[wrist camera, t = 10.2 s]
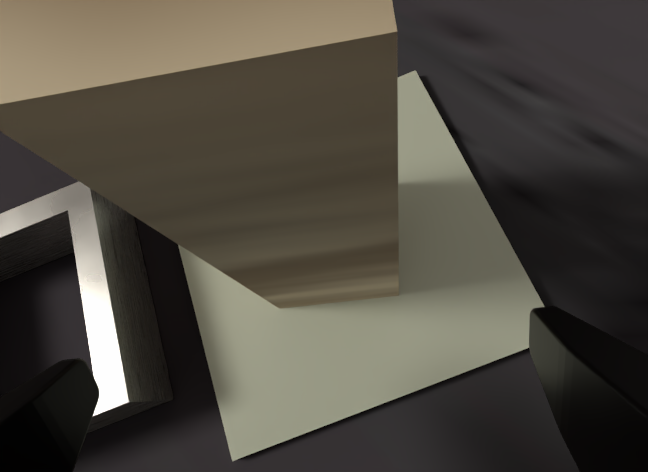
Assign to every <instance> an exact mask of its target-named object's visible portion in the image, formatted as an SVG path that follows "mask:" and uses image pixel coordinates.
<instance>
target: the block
mask: <svg viewBox="0 0 648 472" xmlns="http://www.w3.org/2000/svg"><path fill="white" fill-rule="evenodd" d="M0 131H1V132H2V133H4V134H5V135H7V136H9V137H10V138H12V139H13V140H15V141H16V142H18V143H20V144H21V145H23V146H24V147H26V148H27V149H29V150H31V151H32V152H34V153H35V154H37V155H38V156H40V157H42V158H43V159H45V160H46V161H48V162H49V163H51V164H53V165H54V166H56V167H57V168H59V169H61V170H62V171H64V172H65V173H67V174H68V175H70V176H72V177H73V178H75V179H76V180H78V181H79V182H81V183H83V184H84V185H86V186H87V187H89V188H90V189H92V190H94V191H95V192H97V193H98V194H100V195H101V196H103V197H105V198H106V199H108V200H109V201H111V202H112V203H114V204H116V205H117V206H119V207H120V208H122V209H123V210H125V211H127V212H128V213H130V214H131V215H133V216H134V217H136V218H138V219H139V220H141V221H142V222H144V223H145V224H147V225H149V226H150V227H152V228H153V229H155V230H156V231H158V232H160V233H161V234H163V235H164V236H166V237H167V238H169V239H171V240H172V241H174V242H175V243H177V244H178V245H180V246H182V247H183V248H185V249H186V250H188V251H189V252H191V253H193V254H194V255H196V256H197V257H199V258H200V259H202V260H204V261H205V262H207V263H208V264H210V265H211V266H213V267H215V268H216V269H218V270H219V271H221V272H222V273H224V274H226V275H227V276H229V277H230V278H232V279H234V280H235V281H237V282H238V283H240V284H241V285H243V286H245V287H246V288H248V289H249V290H251V291H252V292H254V293H256V294H257V295H259V296H260V297H262V298H263V299H265V300H267V301H268V302H270V303H271V304H273V305H274V306H276V307H278V308H279V309H281V308H290V307H299V306H308V305H317V304H326V303H335V302H344V301H353V300H362V299H371V298H381V297H390V296H399V239H398V79H397V27H396V21H395V16H394V10H393V4H392V0H0Z"/></svg>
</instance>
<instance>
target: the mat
mask: <svg viewBox="0 0 648 472" xmlns="http://www.w3.org/2000/svg"><path fill="white" fill-rule="evenodd" d="M397 79H398V239H399V296H390V297H381V298H371V299H362V300H353V301H344V302H335V303H326V304H317V305H308V306H299V307H290V308H281V309H279V308H278V307H276V306H274V305H273V304H271V303H270V302H268V301H267V300H265V299H263V298H262V297H260V296H259V295H257V294H256V293H254V292H252V291H251V290H249V289H248V288H246V287H245V286H243V285H241V284H240V283H238V282H237V281H235V280H234V279H232V278H230V277H229V276H227V275H226V274H224V273H222V272H221V271H219V270H218V269H216V268H215V267H213V266H211V265H210V264H208V263H207V262H205V261H204V260H202V259H200V258H199V257H197V256H196V255H194V254H193V253H191V252H189V251H188V250H186V249H185V248H183V247H182V246H180V245H178V247H179V251H180V255H181V259H182V263H183V267H184V271H185V275H186V279H187V282H188V286H189V290H190V294H191V298H192V302H193V306H194V310H195V314H196V318H197V322H198V326H199V330H200V334H201V338H202V342H203V346H204V350H205V354H206V358H207V362H208V366H209V370H210V374H211V378H212V382H213V386H214V390H215V394H216V398H217V402H218V406H219V410H220V414H221V418H222V422H223V426H224V430H225V434H226V438H227V442H228V446H229V450H230V454H231V458H232V461H234V460H237V459H239V458H242V457H245V456H247V455H250V454H252V453H255V452H258V451H260V450H263V449H265V448H268V447H271V446H273V445H276V444H279V443H281V442H284V441H286V440H289V439H292V438H294V437H297V436H299V435H302V434H305V433H307V432H310V431H313V430H315V429H318V428H320V427H323V426H326V425H328V424H331V423H333V422H336V421H339V420H341V419H344V418H347V417H349V416H352V415H354V414H357V413H360V412H362V411H365V410H367V409H370V408H373V407H375V406H378V405H380V404H383V403H386V402H388V401H391V400H394V399H396V398H399V397H401V396H404V395H407V394H409V393H412V392H414V391H417V390H420V389H422V388H425V387H428V386H430V385H433V384H435V383H438V382H441V381H443V380H446V379H448V378H451V377H454V376H456V375H459V374H461V373H464V372H467V371H469V370H472V369H475V368H477V367H480V366H482V365H485V364H488V363H490V362H493V361H495V360H498V359H501V358H503V357H506V356H509V355H511V354H514V353H516V352H519V351H522V350H524V349H527V348H529V320H530V312H531V310H532V309H533V308H539V307H545V306H544V305H543V303H542V301H541V299H540V297H539V295H538V294H537V292H536V290H535V288H534V286H533V284H532V283H531V281H530V279H529V277H528V275H527V274H526V272H525V270H524V268H523V266H522V264H521V263H520V261H519V259H518V257H517V255H516V253H515V252H514V250H513V248H512V246H511V244H510V242H509V241H508V239H507V237H506V235H505V233H504V231H503V230H502V228H501V226H500V224H499V222H498V220H497V219H496V217H495V215H494V213H493V211H492V209H491V208H490V206H489V204H488V202H487V200H486V199H485V197H484V195H483V193H482V191H481V189H480V188H479V186H478V184H477V182H476V180H475V178H474V177H473V175H472V173H471V171H470V169H469V167H468V166H467V164H466V162H465V160H464V158H463V156H462V155H461V153H460V151H459V149H458V147H457V145H456V144H455V142H454V140H453V138H452V136H451V134H450V133H449V131H448V129H447V127H446V125H445V124H444V122H443V120H442V118H441V116H440V114H439V113H438V111H437V109H436V107H435V105H434V103H433V102H432V100H431V98H430V96H429V94H428V92H427V91H426V89H425V87H424V85H423V83H422V81H421V80H420V78H419V76H418V74H417V72H416V70H415V71H413V72H410V73H408V74H405V75H403V76H400V77H398V78H397Z"/></svg>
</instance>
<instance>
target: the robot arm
mask: <svg viewBox="0 0 648 472" xmlns="http://www.w3.org/2000/svg"><path fill="white" fill-rule="evenodd" d="M529 349H530V354H531V357H532V360H533V362H534V365H535V368H536V370H537V373H538V376H539V378H540V381H541V383H542V386H543V389H544V391H545V394H546V397H547V399H548V402H549V405H550V407H551V410H552V412H553V415H554V418H555V420H556V423H557V425H558V428H559V430H560V433H561V435H562V437H563V439H564V441H565V443H566V445H567V447H568V449H569V451H570V453H571V455H572V457H573V459H574V461H575V462H576V464H577V466H578V468H579V470H580V472H648V355H647V354H645V353H643V352H642V351H640V350H638V349H636V348H634V347H632V346H630V345H628V344H626V343H624V342H622V341H621V340H619V339H617V338H615V337H613V336H611V335H609V334H607V333H605V332H603V331H602V330H600V329H598V328H596V327H594V326H592V325H590V324H588V323H586V322H584V321H583V320H581V319H579V318H577V317H575V316H573V315H571V314H569V313H567V312H565V311H563V310H562V309H560V308H558V307H555V306H548V307H539V308H533V309H532V310H531V312H530V320H529ZM98 400H99V387H98V385H97V383H96V381H95V379H94V377H93V375H92V373H91V371H90V369H89V367H88V365H87V363H86V362H85V361H84V360H83V359H80V358H77V359H67V360H62V361H60V362H58V363H56V364H54V365H53V366H51V367H50V368H48V369H46V370H45V371H43V372H41V373H40V374H38V375H37V376H35V377H33V378H32V379H30V380H28V381H27V382H25V383H23V384H22V385H20V386H19V387H17V388H15V389H14V390H12V391H10V392H9V393H7V394H6V395H4V396H2V397H1V398H0V472H73V470H74V467H75V464H76V462H77V459H78V456H79V454H80V451H81V448H82V445H83V442H84V440H85V437H86V434H87V431H88V428H89V425H90V423H91V420H92V417H93V414H94V411H95V409H96V406H97V403H98Z"/></svg>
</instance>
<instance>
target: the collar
mask: <svg viewBox="0 0 648 472" xmlns="http://www.w3.org/2000/svg"><path fill="white" fill-rule="evenodd" d="M73 252H75V259H76V265H77V271H78V278H79V284H80V290H81V297H82V303H83V309H84V316H85V322H86V328H87V335H88V341H89V347H90V354H91V360H92V367H93V373H94V379H95V381H96V383H97V385H98V387H99V400H98V403H97V406H96V409H95V411H94V414H93V417H92V420H91V423H90V425H89V428H88V431H87V433H89V432H91V431H94V430H96V429H99V428H102V427H104V426H107V425H109V424H112V423H114V422H117V421H120V420H122V419H125V418H127V417H130V416H132V415H135V414H137V413H140V412H143V411H145V410H148V409H150V408H153V407H155V406H158V405H161V404H163V403H166V402H168V401H171V400H173V399H174V397H173V392H172V387H171V383H170V378H169V374H168V369H167V364H166V360H165V355H164V351H163V346H162V341H161V337H160V332H159V328H158V323H157V318H156V314H155V309H154V305H153V300H152V295H151V291H150V286H149V282H148V277H147V272H146V268H145V263H144V259H143V254H142V249H141V245H140V240H139V236H138V231H137V226H136V222H135V217H134V216H133V215H131V214H130V213H128V212H127V211H125V210H123V209H122V208H120V207H119V206H117V205H116V204H114V203H112V202H111V201H109V200H108V199H106V198H105V197H103V196H101V195H100V194H98V193H97V192H95V191H94V190H92V189H90V188H89V187H87V186H86V185H84V184H83V183H81V182H77V183H74V184H72V185H70V186H67V187H65V188H62V189H60V190H57V191H55V192H52V193H50V194H48V195H45V196H43V197H40V198H38V199H35V200H33V201H31V202H28V203H26V204H23V205H21V206H18V207H16V208H14V209H11V210H9V211H6V212H4V213H1V214H0V282H2V281H4V280H6V279H9V278H11V277H14V276H16V275H19V274H21V273H24V272H26V271H29V270H31V269H34V268H36V267H39V266H41V265H44V264H46V263H48V262H51V261H53V260H56V259H58V258H61V257H63V256H66V255H68V254H71V253H73Z"/></svg>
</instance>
